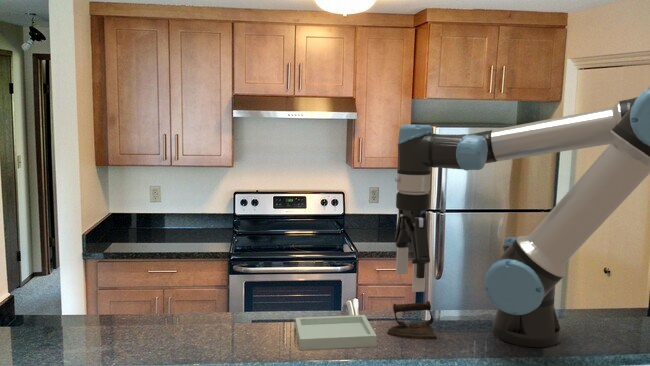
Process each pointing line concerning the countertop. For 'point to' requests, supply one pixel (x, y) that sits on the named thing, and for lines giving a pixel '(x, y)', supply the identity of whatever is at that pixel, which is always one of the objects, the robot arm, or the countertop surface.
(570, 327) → the countertop surface
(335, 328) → the iron rest
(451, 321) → the countertop surface
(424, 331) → the clothes iron
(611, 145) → the robot arm
